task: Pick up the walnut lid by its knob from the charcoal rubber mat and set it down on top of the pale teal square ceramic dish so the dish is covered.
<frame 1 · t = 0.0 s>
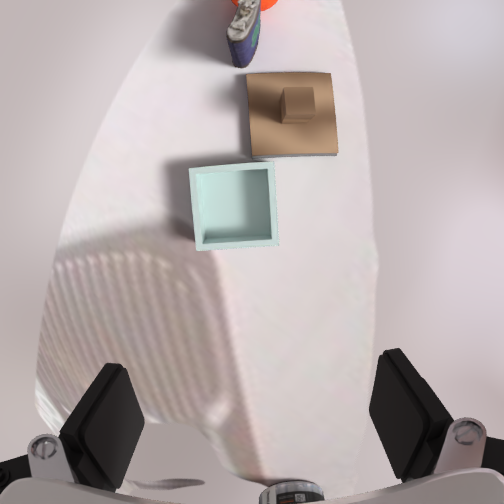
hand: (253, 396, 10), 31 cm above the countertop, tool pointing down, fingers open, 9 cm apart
clementine: (250, 3, 32), on the countertop, touching flask
lid: (292, 112, 36), point 1 cm above the countertop, touching mat
dish: (236, 203, 39), on the countertop
supplement tub: (290, 492, 56), on the countertop
flask: (247, 41, 34), on the countertop, touching clementine
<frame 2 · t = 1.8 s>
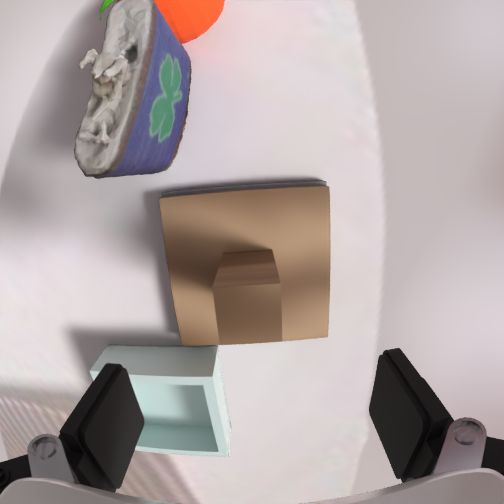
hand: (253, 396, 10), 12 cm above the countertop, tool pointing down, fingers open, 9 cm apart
mat: (249, 267, 22), on the countertop
clementine: (175, 24, 17), on the countertop, touching flask
lid: (249, 270, 21), point 1 cm above the countertop, touching mat
dish: (171, 390, 25), on the countertop
flask: (168, 109, 19), on the countertop, touching clementine
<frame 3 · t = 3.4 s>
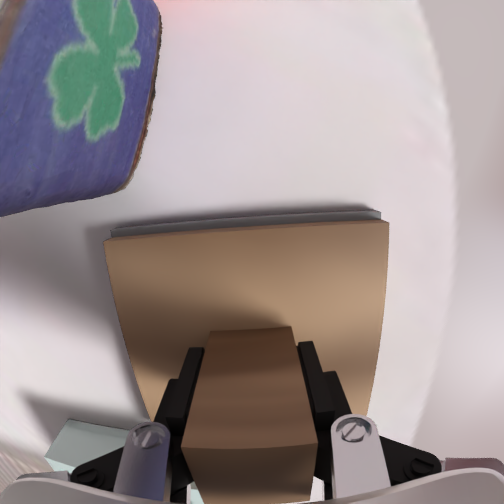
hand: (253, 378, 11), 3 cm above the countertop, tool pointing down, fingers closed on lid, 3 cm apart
mat: (253, 344, 13), on the countertop
lid: (253, 351, 13), point 1 cm above the countertop, touching gripper, mat
dish: (152, 473, 16), on the countertop
flask: (126, 91, 11), on the countertop, touching clementine
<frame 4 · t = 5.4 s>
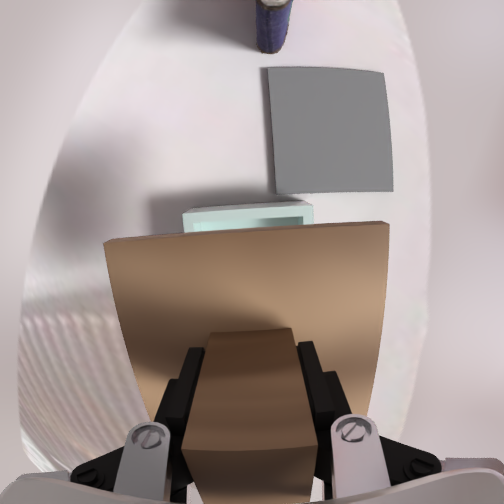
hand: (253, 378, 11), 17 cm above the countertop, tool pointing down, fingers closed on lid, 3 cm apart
mat: (333, 128, 25), on the countertop
lid: (253, 353, 13), point 16 cm above the countertop, touching gripper
dish: (251, 258, 28), on the countertop
flask: (273, 17, 22), on the countertop, touching clementine
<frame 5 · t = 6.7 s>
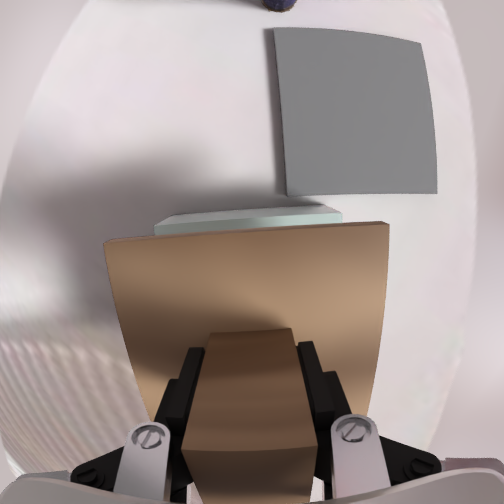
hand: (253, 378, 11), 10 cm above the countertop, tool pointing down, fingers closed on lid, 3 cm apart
mat: (361, 108, 18), on the countertop
lid: (253, 353, 13), point 8 cm above the countertop, touching gripper
dish: (253, 282, 21), on the countertop
when the fingers open (7 cm above the countertop, at t = 7.6 s): lid stays where it is, resting on dish.
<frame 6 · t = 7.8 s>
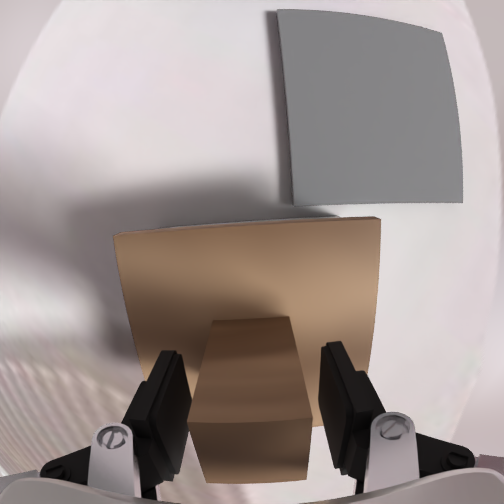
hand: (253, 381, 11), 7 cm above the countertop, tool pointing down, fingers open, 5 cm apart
mat: (380, 103, 15), on the countertop
lid: (253, 341, 14), point 4 cm above the countertop, touching dish
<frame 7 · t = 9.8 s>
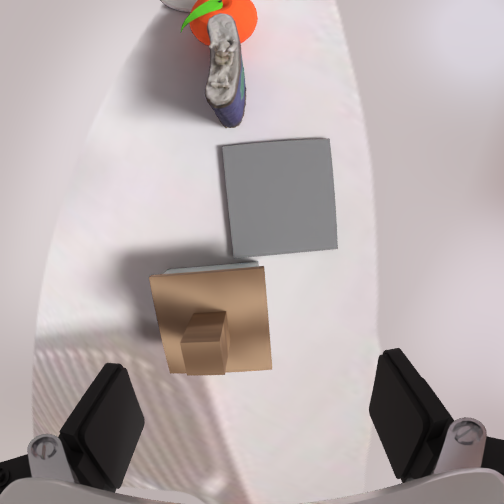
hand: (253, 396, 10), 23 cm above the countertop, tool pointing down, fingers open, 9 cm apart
mat: (281, 197, 31), on the countertop
clementine: (222, 35, 27), on the countertop, touching flask
lid: (213, 323, 30), point 4 cm above the countertop, touching dish
dish: (217, 308, 34), on the countertop
flask: (231, 89, 29), on the countertop, touching clementine
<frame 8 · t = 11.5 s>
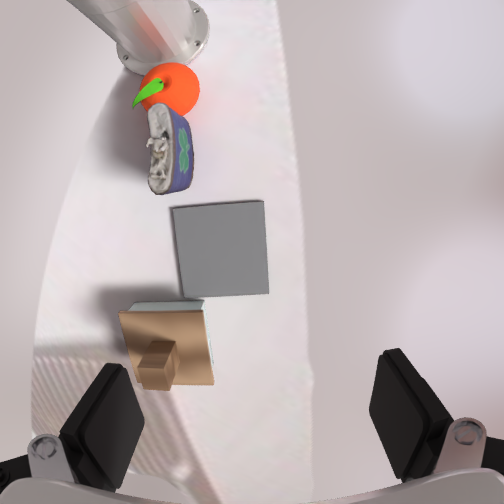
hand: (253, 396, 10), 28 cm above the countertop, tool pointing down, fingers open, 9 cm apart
mat: (222, 251, 38), on the countertop
clementine: (173, 100, 33), on the countertop, touching flask
lid: (167, 348, 37), point 4 cm above the countertop, touching dish
dish: (174, 333, 41), on the countertop
flask: (182, 153, 35), on the countertop, touching clementine
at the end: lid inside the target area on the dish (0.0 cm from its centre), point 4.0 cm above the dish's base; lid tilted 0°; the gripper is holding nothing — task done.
